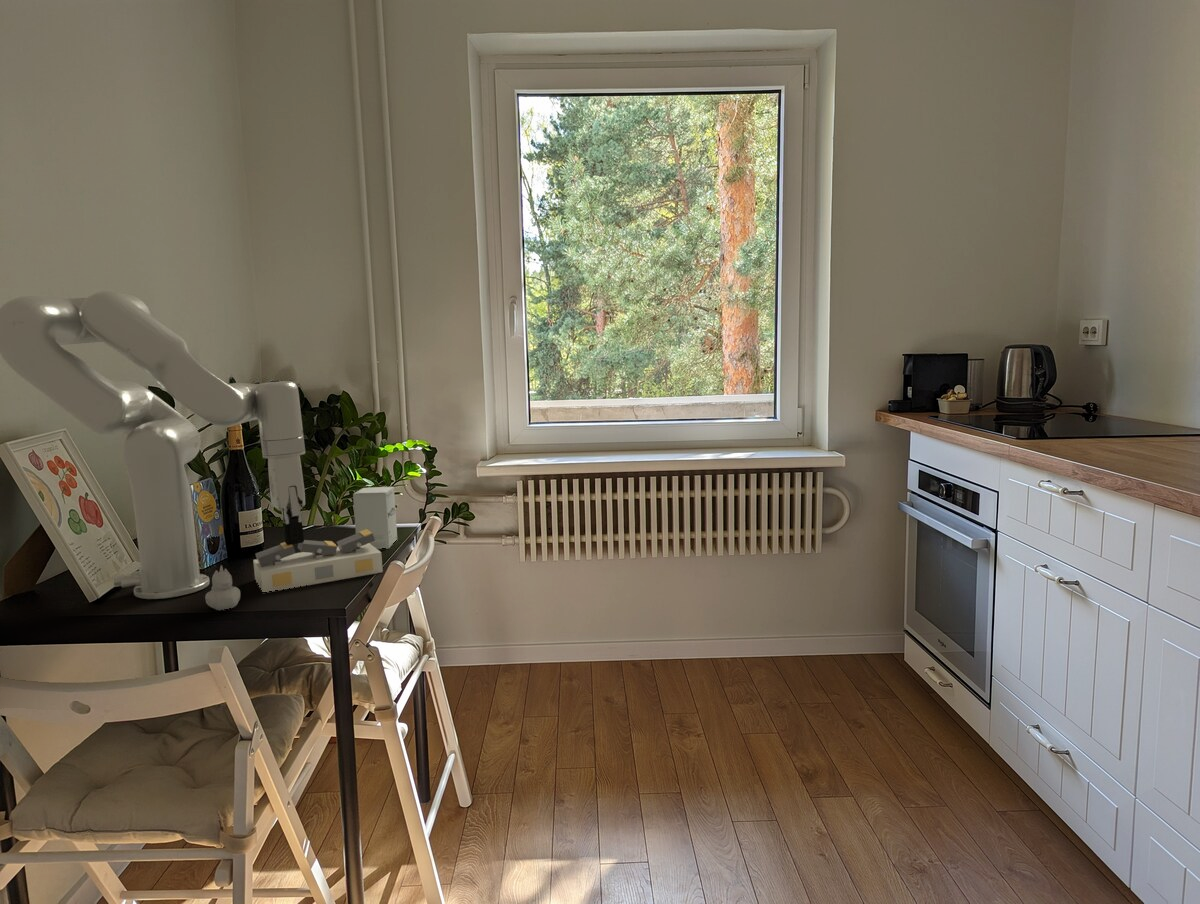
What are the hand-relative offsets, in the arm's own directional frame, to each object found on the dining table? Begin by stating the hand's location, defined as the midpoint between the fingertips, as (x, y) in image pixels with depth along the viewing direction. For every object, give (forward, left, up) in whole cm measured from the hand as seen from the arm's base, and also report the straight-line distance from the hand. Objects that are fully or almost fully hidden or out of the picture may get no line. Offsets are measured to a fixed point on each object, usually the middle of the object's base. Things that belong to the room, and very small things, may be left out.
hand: (294, 542), depth 154 cm
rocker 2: (+4, 0, -2) cm, 4 cm away
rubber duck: (-14, -10, -8) cm, 19 cm away
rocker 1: (-3, 0, -2) cm, 4 cm away
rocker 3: (+12, 0, -2) cm, 12 cm away
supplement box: (+20, +17, -8) cm, 28 cm away
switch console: (+4, 0, -7) cm, 8 cm away
